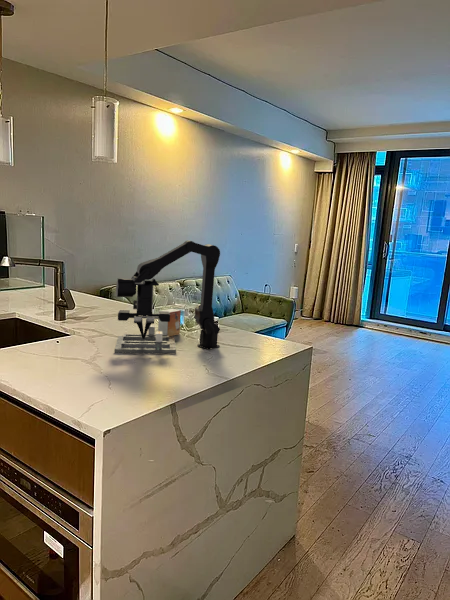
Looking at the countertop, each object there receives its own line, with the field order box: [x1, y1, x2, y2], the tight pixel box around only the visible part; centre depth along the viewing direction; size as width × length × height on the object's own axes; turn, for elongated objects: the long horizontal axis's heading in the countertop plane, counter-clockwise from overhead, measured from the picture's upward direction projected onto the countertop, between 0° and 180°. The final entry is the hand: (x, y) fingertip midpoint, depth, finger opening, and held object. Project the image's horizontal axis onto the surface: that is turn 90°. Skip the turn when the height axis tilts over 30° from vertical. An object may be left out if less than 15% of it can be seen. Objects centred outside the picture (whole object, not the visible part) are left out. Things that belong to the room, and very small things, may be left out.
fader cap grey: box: [147, 324, 156, 336], centre depth 180 cm, size 2×3×5 cm
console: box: [113, 333, 177, 355], centre depth 174 cm, size 22×19×3 cm
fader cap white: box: [155, 330, 162, 344], centre depth 170 cm, size 2×4×5 cm, turn 9°
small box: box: [157, 308, 182, 337], centre depth 193 cm, size 8×6×10 cm
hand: (143, 338), depth 169 cm, fingers closed
